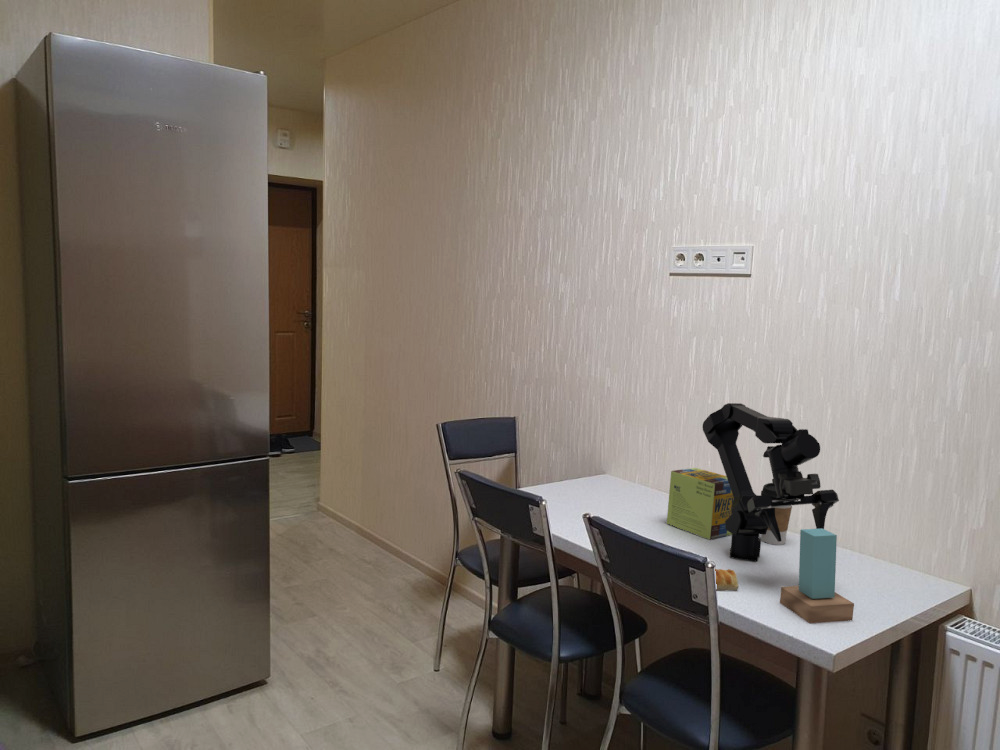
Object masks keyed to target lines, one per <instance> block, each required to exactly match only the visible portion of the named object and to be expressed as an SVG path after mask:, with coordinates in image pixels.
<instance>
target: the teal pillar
mask: <svg viewBox="0 0 1000 750" xmlns="http://www.w3.org/2000/svg"><path fill="white" fill-rule="evenodd" d="M799 533H800V536H799V537H800V539H799V563H798V564H799V566H798V567H799V568H798V586H799V591H801V592H802V593H804V594H805V595H807V596H809V597H810V598H812V599H818V598H832V597H835V592H836V572H837V571H836V568H837V567H836V566H837V564H836V563H837V542H838V541H837V540H838V539H837V537H838V535H837V534H835V533H832V532H831V531H829V530H826V529H825V528H824V529H822V528H821V529H816V528H809V529H802V528H801V529H800V532H799Z"/></svg>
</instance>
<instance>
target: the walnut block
mask: <svg viewBox="0 0 1000 750" xmlns="http://www.w3.org/2000/svg"><path fill="white" fill-rule="evenodd" d="M779 603H780V604H781V605H782V606H784V607H786V609H788V610H790V611H791V612H792V611H793V612H792V613H794V614H795V615H797V616H798V617H800V618H801V619H802V620H804V621H805V622H808V623H809V624H821V623H836V622H845V621H846V622H849V621H850V620H851V621H853V618H854V617H853V616H854V609H855V603H854V602H852V601H851V600H849V599H848V598H846V597H844V596H842V595H840V593H837V592H836V591H835V597H832V598H818V599H812V598H810V597H809V596H807V595H805V594H804V593H802V592H801V591H799V585H789V586H781V587H780V596H779ZM848 620H849V621H848Z"/></svg>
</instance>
